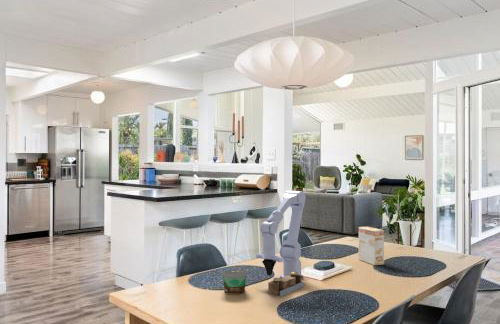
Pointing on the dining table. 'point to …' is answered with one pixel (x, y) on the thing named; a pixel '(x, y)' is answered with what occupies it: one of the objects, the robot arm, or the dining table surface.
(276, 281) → the keyhole posts
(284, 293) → the back rail
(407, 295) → the dining table surface
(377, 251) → the coffeecake box
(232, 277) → the food container
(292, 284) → the wooden notched bar
